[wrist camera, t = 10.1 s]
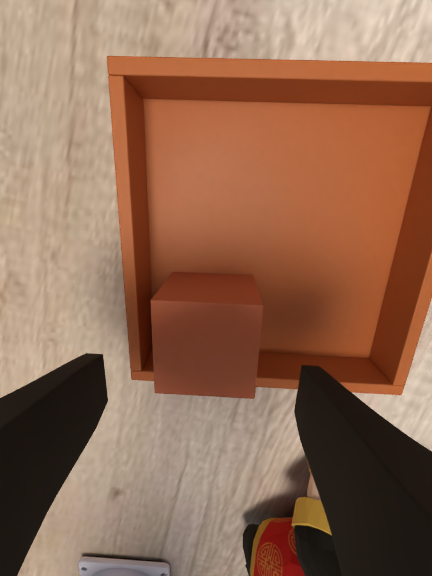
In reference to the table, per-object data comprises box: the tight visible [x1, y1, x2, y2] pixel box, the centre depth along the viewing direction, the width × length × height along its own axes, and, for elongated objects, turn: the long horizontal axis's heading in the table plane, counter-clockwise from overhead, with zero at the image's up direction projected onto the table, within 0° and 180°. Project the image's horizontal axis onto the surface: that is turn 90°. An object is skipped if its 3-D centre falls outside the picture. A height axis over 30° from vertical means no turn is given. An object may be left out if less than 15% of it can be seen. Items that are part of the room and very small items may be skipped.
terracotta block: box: [151, 272, 263, 399], centre depth 13 cm, size 4×4×4 cm
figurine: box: [243, 459, 342, 576], centre depth 16 cm, size 10×10×15 cm
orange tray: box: [107, 56, 432, 395], centre depth 13 cm, size 14×14×3 cm
